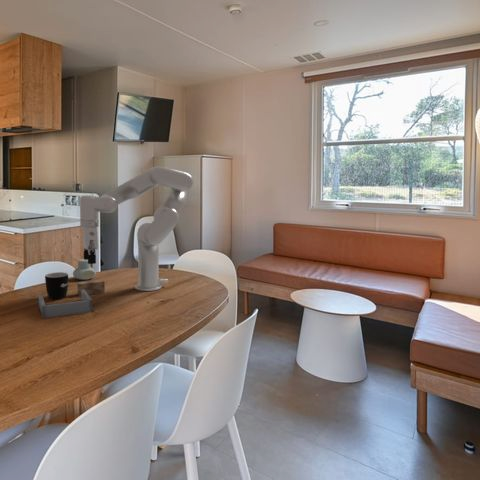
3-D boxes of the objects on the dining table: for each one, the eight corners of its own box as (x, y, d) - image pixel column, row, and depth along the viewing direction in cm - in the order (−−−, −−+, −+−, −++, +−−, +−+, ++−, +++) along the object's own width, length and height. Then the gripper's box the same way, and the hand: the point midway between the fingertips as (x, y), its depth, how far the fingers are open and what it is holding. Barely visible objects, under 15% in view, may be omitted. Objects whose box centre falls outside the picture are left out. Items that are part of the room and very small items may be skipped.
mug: (61, 301, 158) (60, 277, 157) (41, 299, 159) (40, 276, 158) (76, 293, 170) (75, 271, 169) (57, 291, 171) (57, 270, 170)
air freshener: (91, 275, 202) (91, 257, 200) (98, 278, 196) (97, 260, 195) (70, 278, 194) (70, 259, 193) (77, 282, 189) (76, 262, 187)
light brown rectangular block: (102, 291, 175) (102, 279, 174) (104, 293, 172) (104, 281, 171) (77, 294, 169) (77, 282, 169) (79, 296, 166) (78, 284, 166)
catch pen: (84, 299, 162) (84, 289, 161) (92, 311, 147) (92, 300, 147) (38, 305, 153) (38, 294, 152) (42, 318, 138) (42, 306, 138)
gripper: (102, 225, 161) (102, 264, 163) (94, 221, 175) (94, 257, 178) (84, 225, 157) (84, 266, 159) (77, 221, 171) (77, 258, 174)
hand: (89, 261), depth 168 cm, fingers open, 9 cm apart
